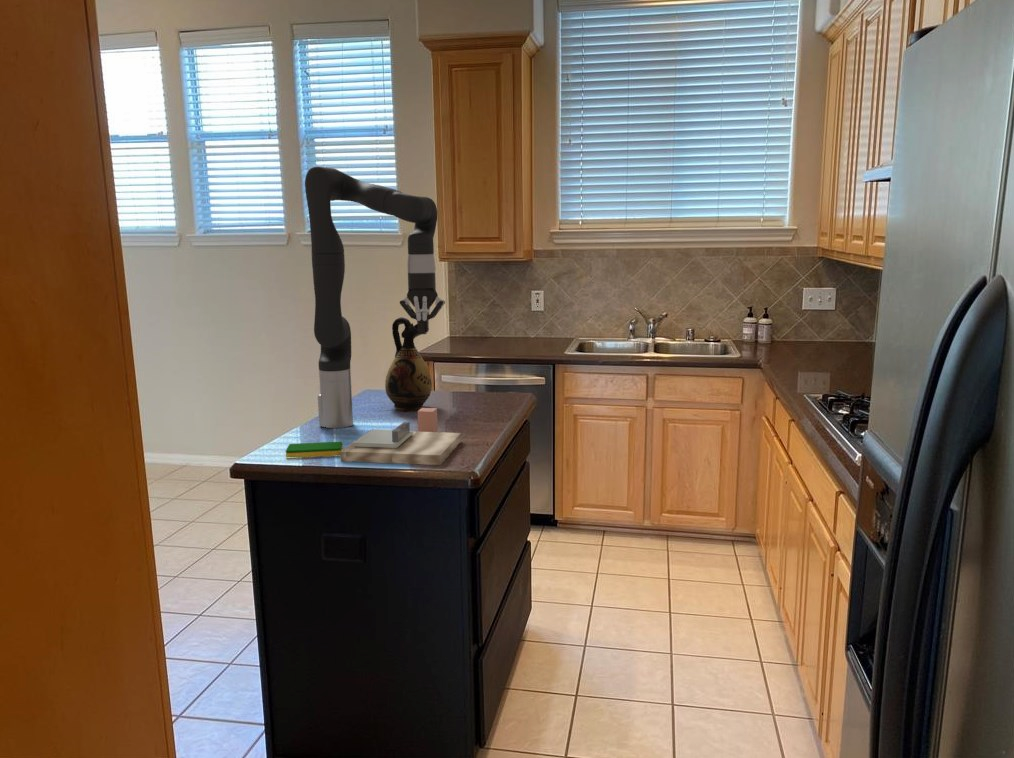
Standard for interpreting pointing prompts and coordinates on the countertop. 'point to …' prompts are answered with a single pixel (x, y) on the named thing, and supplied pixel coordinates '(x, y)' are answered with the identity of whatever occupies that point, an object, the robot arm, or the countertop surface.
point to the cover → (385, 437)
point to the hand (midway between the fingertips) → (423, 333)
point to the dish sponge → (314, 449)
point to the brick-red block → (427, 420)
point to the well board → (407, 450)
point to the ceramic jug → (407, 371)
